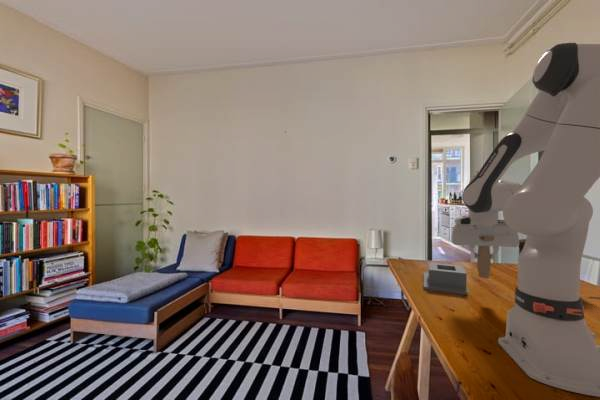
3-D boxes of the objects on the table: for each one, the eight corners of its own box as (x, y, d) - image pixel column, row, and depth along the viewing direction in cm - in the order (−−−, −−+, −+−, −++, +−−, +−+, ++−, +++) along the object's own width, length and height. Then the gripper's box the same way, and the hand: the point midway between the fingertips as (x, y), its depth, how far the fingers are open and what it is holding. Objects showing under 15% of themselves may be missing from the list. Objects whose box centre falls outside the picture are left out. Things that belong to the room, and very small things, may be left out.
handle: (493, 280, 96) (493, 236, 96) (471, 276, 100) (472, 235, 100) (495, 277, 100) (496, 235, 100) (474, 274, 104) (475, 234, 104)
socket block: (467, 295, 105) (467, 275, 104) (423, 289, 111) (423, 271, 110) (460, 278, 125) (460, 262, 125) (423, 274, 131) (423, 259, 131)
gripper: (515, 219, 99) (516, 258, 99) (450, 218, 107) (451, 255, 107) (521, 220, 93) (522, 262, 93) (452, 219, 101) (453, 258, 101)
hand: (483, 258), depth 100 cm, fingers closed on handle, 4 cm apart
